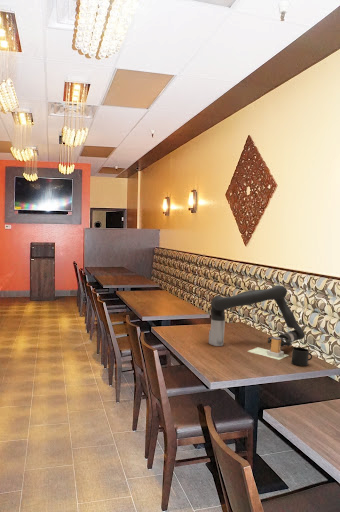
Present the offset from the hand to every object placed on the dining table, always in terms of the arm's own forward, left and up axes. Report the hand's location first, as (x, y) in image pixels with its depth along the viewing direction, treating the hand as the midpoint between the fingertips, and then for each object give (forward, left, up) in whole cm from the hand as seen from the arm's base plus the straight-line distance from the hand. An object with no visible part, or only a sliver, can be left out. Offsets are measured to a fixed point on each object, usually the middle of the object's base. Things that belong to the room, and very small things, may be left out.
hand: (274, 343), depth 263 cm
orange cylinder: (0, +2, -8) cm, 8 cm away
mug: (+17, +3, -10) cm, 20 cm away
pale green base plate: (-5, +2, -10) cm, 11 cm away
